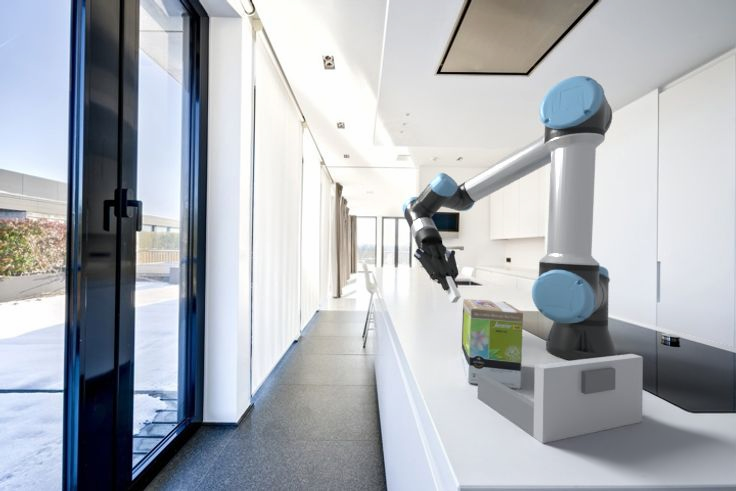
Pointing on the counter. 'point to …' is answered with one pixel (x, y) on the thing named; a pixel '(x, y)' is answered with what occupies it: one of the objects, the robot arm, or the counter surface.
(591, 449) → the counter surface
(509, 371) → the tea box
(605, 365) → the grey drawer
